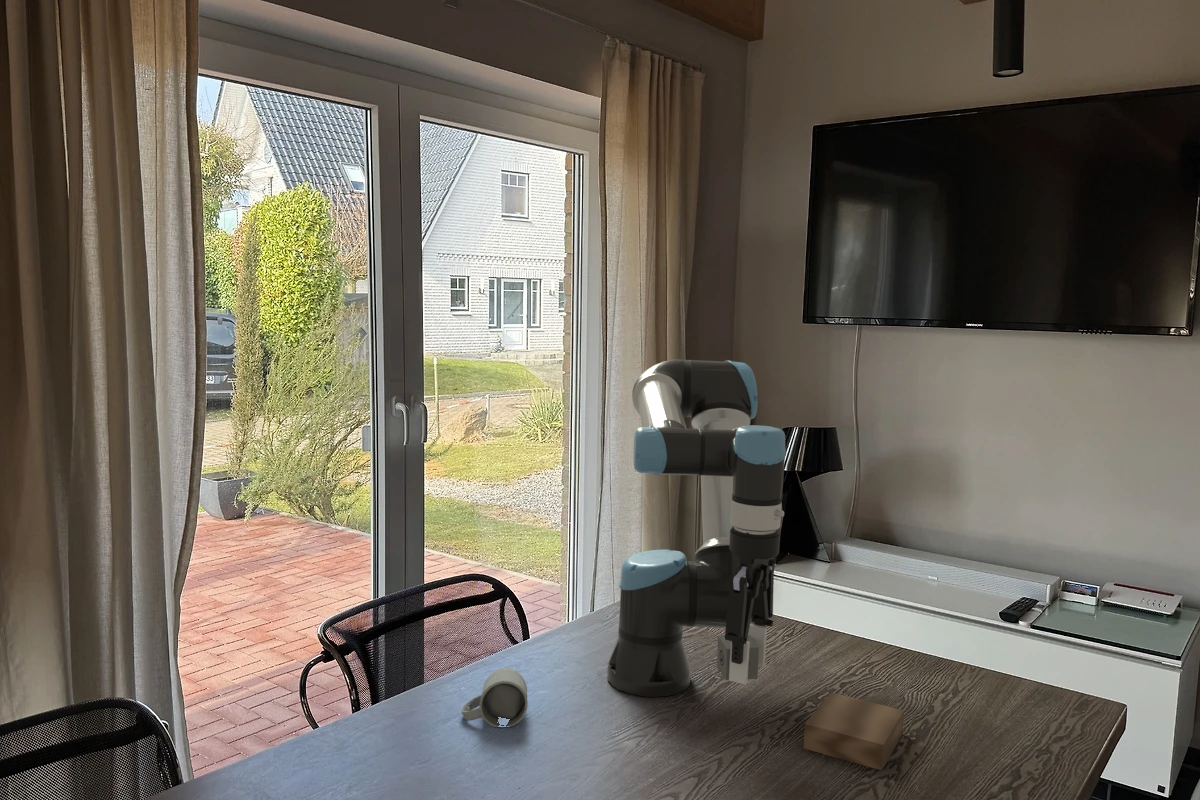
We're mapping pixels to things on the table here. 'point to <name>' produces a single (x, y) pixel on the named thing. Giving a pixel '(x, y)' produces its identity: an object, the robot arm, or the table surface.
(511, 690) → the ceramic mug
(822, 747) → the brown flat block
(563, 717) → the table surface
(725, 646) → the dice cube
